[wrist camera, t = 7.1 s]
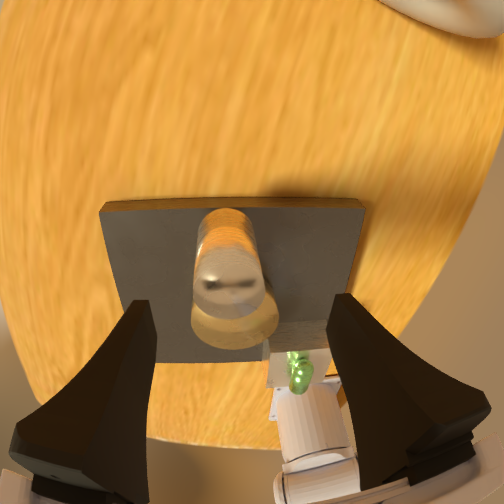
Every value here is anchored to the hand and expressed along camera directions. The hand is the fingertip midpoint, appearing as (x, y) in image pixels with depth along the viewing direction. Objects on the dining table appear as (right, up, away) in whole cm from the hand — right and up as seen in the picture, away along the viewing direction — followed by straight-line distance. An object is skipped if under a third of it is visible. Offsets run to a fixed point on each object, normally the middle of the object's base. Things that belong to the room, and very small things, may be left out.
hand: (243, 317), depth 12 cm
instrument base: (-1, 0, +12) cm, 12 cm away
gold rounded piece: (-1, +1, +9) cm, 9 cm away
